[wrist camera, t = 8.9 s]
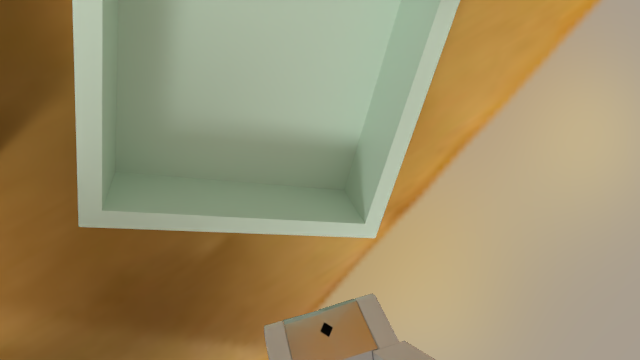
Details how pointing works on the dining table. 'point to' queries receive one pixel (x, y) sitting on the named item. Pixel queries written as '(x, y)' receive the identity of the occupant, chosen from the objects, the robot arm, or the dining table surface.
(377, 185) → the serving tray
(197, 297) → the dining table surface
